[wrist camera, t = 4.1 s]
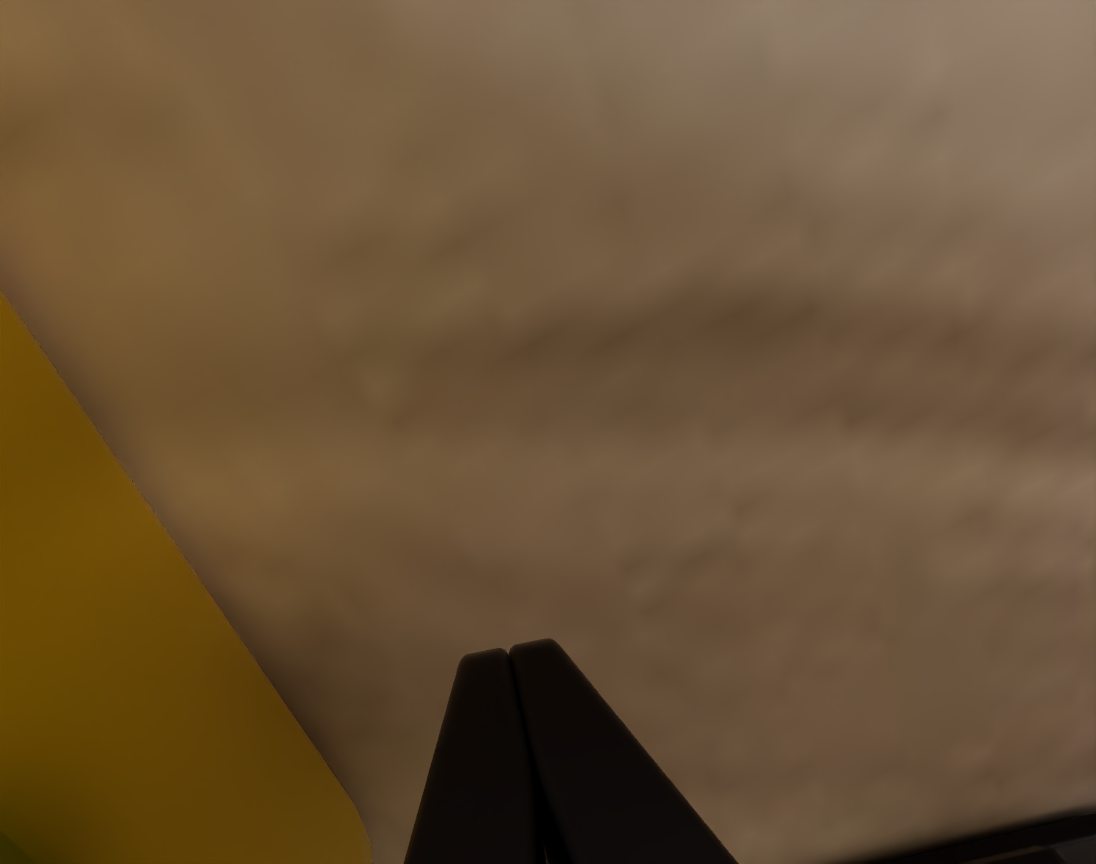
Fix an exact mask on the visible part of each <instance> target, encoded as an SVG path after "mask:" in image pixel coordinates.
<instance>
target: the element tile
mask: <svg viewBox="0 0 1096 864" xmlns="http://www.w3.org/2000/svg"><path fill="white" fill-rule="evenodd" d="M0 864H372V852H371V845H370V841H369V839H368V836H367V833H366V831H365V828H364V826H363V823H362V820H361V818H360V815H359V813H358V811H357V809H356V807H355V805H354V804H353V802H352V800H351V799H350V798H349V796H348V795H347V793H346V792H345V790H344V789H343V787H342V786H341V784H340V783H339V781H338V780H337V779H336V777H335V776H334V774H333V773H332V771H331V770H330V768H329V767H328V765H327V764H326V763H325V761H324V760H323V758H322V757H321V755H320V754H319V752H318V751H317V749H316V748H315V747H314V745H313V744H312V742H311V741H310V739H309V738H308V736H307V735H306V733H305V732H304V730H303V729H302V728H301V726H300V725H299V723H298V722H297V720H296V719H295V717H294V716H293V714H292V713H291V712H290V710H289V709H288V707H287V706H286V704H285V703H284V701H283V700H282V698H281V697H280V696H279V694H278V693H277V691H276V690H275V688H274V687H273V685H272V684H271V682H270V681H269V679H268V678H267V677H266V675H265V674H264V672H263V671H262V669H261V668H260V666H259V665H258V663H257V662H256V661H255V659H254V658H253V656H252V655H251V653H250V652H249V650H248V649H247V647H246V646H245V645H244V643H243V642H242V640H241V639H240V637H239V636H238V634H237V633H236V631H235V630H234V628H233V627H232V626H231V624H230V623H229V621H228V620H227V618H226V617H225V615H224V614H223V612H222V611H221V610H220V608H219V607H218V605H217V604H216V602H215V601H214V599H213V598H212V596H211V595H210V594H209V592H208V591H207V589H206V588H205V586H204V585H203V583H202V582H201V580H200V579H199V577H198V576H197V575H196V573H195V572H194V570H193V569H192V567H191V566H190V564H189V563H188V561H187V560H186V559H185V557H184V556H183V554H182V553H181V551H180V550H179V548H178V547H177V545H176V544H175V543H174V541H173V540H172V538H171V537H170V535H169V534H168V532H167V531H166V529H165V528H164V526H163V525H162V524H161V522H160V521H159V519H158V518H157V516H156V515H155V513H154V512H153V510H152V509H151V508H150V506H149V505H148V503H147V502H146V500H145V499H144V497H143V496H142V494H141V493H140V492H139V490H138V489H137V487H136V486H135V484H134V483H133V481H132V480H131V478H130V477H129V475H128V474H127V473H126V471H125V470H124V468H123V467H122V465H121V464H120V462H119V461H118V459H117V458H116V457H115V455H114V454H113V452H112V451H111V449H110V448H109V446H108V445H107V443H106V442H105V441H104V439H103V438H102V436H101V435H100V433H99V432H98V430H97V429H96V427H95V426H94V424H93V423H92V422H91V420H90V419H89V417H88V416H87V414H86V413H85V411H84V410H83V408H82V407H81V406H80V404H79V403H78V401H77V400H76V398H75V397H74V395H73V394H72V392H71V391H70V390H69V388H68V387H67V385H66V384H65V382H64V381H63V379H62V378H61V376H60V375H59V373H58V372H57V371H56V369H55V368H54V366H53V365H52V363H51V362H50V360H49V359H48V357H47V356H46V355H45V353H44V352H43V350H42V349H41V347H40V346H39V344H38V343H37V341H36V340H35V339H34V337H33V336H32V334H31V333H30V331H29V330H28V328H27V327H26V325H25V324H24V322H23V321H22V320H21V318H20V317H19V315H18V314H17V312H16V311H15V309H14V308H13V306H12V305H11V304H10V302H9V301H8V299H7V298H6V296H5V295H4V293H3V292H2V290H1V289H0Z"/></svg>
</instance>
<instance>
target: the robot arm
mask: <svg viewBox="0 0 1096 864" xmlns="http://www.w3.org/2000/svg"><path fill="white" fill-rule="evenodd" d="M546 861H547V862H546ZM404 864H738V862H737V861H736V860H735V859H734V857H733V856H732V855H731V854H730V853H729V851H728V850H727V849H726V848H725V846H724V845H723V844H722V843H721V842H720V840H719V839H718V838H717V837H716V835H715V834H714V833H713V832H712V831H711V829H710V828H709V827H708V826H707V824H706V823H705V822H704V821H703V820H702V818H701V817H700V816H699V815H698V813H697V812H696V811H695V810H694V809H693V807H692V806H691V805H690V804H689V803H688V801H687V800H686V799H685V798H684V796H683V795H682V794H681V793H680V792H679V790H678V789H677V788H676V787H675V785H674V784H673V783H672V782H671V781H670V779H669V778H668V777H667V776H666V774H665V773H664V772H663V771H662V770H661V768H660V767H659V766H658V765H657V763H656V762H655V761H654V760H653V759H652V757H651V756H650V755H649V754H648V752H647V751H646V750H645V749H644V748H643V746H642V745H641V744H640V743H639V741H638V740H637V739H636V738H635V737H634V735H633V734H632V733H631V732H630V730H629V729H628V728H627V727H626V726H625V724H624V723H623V722H622V721H621V719H620V718H619V717H618V716H617V715H616V713H615V712H614V711H613V710H612V709H611V707H610V706H609V705H608V704H607V702H606V701H605V700H604V699H603V698H602V696H601V695H600V694H599V693H598V691H597V690H596V689H595V688H594V687H593V685H592V684H591V683H590V682H589V680H588V679H587V678H586V677H585V676H584V674H583V673H582V672H581V671H580V669H579V668H578V667H577V666H576V665H575V663H574V662H573V661H572V660H571V658H570V657H569V656H568V655H567V654H566V652H565V651H564V650H563V649H562V647H561V646H560V645H559V644H558V643H557V642H555V641H554V640H552V639H541V640H536V641H531V642H526V643H521V644H516V645H514V646H513V647H512V648H511V649H510V651H509V655H508V652H507V651H506V650H504V649H502V648H496V649H491V650H486V651H481V652H476V653H471V654H467V655H465V656H464V657H463V658H462V659H461V661H460V663H459V665H458V668H457V672H456V676H455V679H454V683H453V687H452V690H451V694H450V697H449V701H448V705H447V708H446V712H445V716H444V719H443V723H442V726H441V730H440V734H439V737H438V741H437V745H436V748H435V752H434V755H433V759H432V763H431V766H430V770H429V773H428V777H427V781H426V784H425V788H424V792H423V795H422V799H421V802H420V806H419V810H418V813H417V817H416V821H415V824H414V828H413V831H412V835H411V839H410V842H409V846H408V850H407V853H406V857H405V860H404ZM883 864H1096V813H1095V814H1091V815H1087V816H1083V817H1078V818H1074V819H1070V820H1066V821H1061V822H1057V823H1053V824H1049V825H1044V826H1040V827H1036V828H1032V829H1027V830H1023V831H1019V832H1015V833H1010V834H1006V835H1002V836H997V837H993V838H989V839H985V840H980V841H976V842H972V843H968V844H963V845H959V846H955V847H951V848H946V849H942V850H938V851H934V852H929V853H925V854H921V855H917V856H912V857H908V858H904V859H900V860H895V861H891V862H887V863H883Z"/></svg>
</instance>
